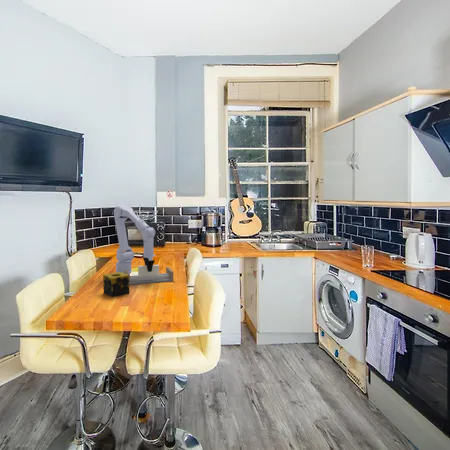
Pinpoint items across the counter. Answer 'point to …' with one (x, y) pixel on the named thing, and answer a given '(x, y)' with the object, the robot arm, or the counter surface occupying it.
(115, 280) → the black and yellow cube
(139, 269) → the door panel
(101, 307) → the counter surface
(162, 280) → the cabinet base
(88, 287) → the counter surface
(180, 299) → the counter surface
